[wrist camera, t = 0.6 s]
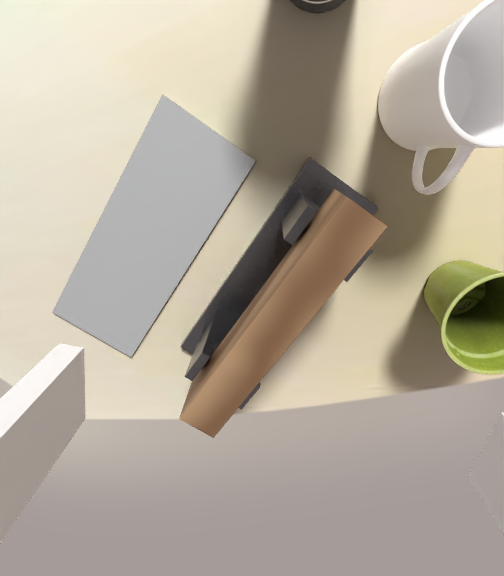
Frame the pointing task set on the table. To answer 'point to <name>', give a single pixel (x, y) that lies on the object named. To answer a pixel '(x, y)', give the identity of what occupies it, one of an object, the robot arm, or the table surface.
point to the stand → (265, 260)
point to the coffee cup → (317, 5)
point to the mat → (152, 227)
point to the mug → (449, 92)
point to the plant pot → (469, 314)
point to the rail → (281, 310)
